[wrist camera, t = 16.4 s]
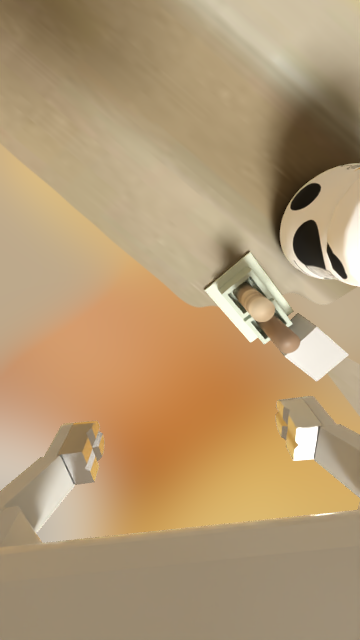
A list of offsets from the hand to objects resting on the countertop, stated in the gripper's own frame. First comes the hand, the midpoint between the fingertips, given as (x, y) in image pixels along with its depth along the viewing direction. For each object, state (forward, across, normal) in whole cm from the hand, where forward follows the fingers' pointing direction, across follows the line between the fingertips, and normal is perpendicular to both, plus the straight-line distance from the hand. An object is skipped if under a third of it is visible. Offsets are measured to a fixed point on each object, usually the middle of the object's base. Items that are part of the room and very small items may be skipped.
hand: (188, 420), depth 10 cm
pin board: (+37, -14, +8) cm, 41 cm away
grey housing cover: (+37, -25, +19) cm, 49 cm away
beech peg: (+36, -12, +6) cm, 39 cm away
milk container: (+37, -27, -4) cm, 47 cm away
